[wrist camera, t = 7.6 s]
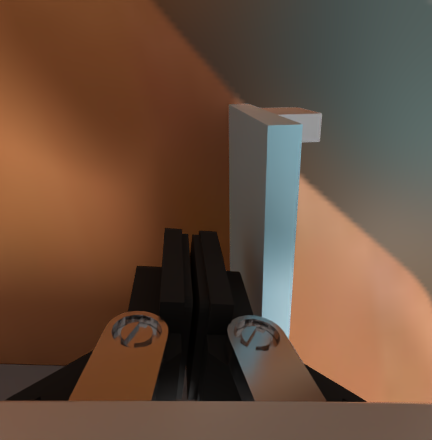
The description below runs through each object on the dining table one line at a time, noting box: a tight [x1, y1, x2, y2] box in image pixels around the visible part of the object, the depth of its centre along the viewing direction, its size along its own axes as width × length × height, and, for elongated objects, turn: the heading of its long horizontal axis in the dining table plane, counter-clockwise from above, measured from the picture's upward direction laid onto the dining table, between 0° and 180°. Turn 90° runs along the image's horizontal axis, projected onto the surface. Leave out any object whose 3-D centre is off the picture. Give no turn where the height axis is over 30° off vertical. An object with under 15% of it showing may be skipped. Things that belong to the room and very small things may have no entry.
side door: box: [229, 104, 322, 339], centre depth 14 cm, size 14×2×7 cm, turn 1°
